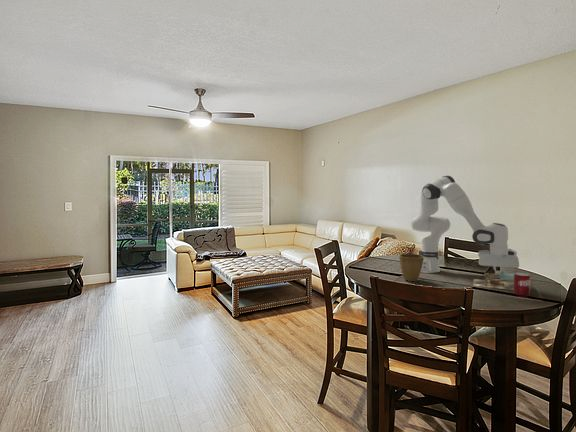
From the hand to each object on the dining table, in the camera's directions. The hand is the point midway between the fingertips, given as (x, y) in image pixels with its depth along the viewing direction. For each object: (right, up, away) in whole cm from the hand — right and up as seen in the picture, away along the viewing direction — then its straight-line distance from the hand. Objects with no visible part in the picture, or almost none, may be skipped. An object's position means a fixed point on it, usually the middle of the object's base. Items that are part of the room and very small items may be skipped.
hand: (498, 274), depth 198 cm
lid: (+5, -2, -2) cm, 5 cm away
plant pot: (-45, -7, +18) cm, 49 cm away
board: (0, -8, +1) cm, 8 cm away
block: (-1, -6, +2) cm, 7 cm away
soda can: (+2, -9, -17) cm, 19 cm away
